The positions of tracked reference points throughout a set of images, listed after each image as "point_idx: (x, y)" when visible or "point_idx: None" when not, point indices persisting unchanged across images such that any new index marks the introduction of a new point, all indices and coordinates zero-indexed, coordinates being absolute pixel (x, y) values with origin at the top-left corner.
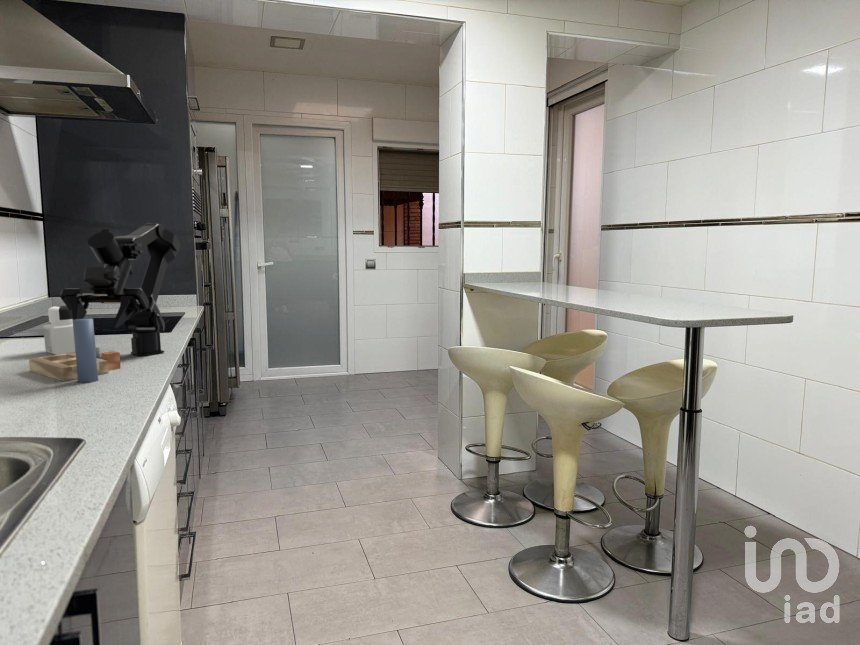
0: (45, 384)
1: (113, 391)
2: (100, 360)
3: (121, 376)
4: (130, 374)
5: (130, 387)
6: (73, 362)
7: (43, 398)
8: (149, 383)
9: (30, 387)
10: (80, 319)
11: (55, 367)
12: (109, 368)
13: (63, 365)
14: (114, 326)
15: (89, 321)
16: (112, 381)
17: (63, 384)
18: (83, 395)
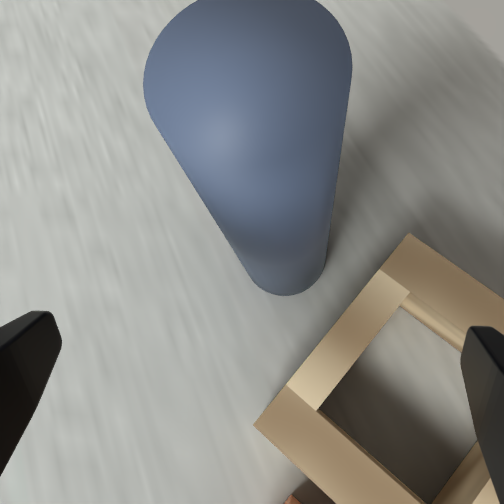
0: (444, 198)
1: (112, 89)
2: (299, 439)
3: (167, 332)
4: (139, 373)
5: (70, 140)
6: (485, 471)
7: None
8: (17, 196)
9: (477, 150)
10: (282, 84)
11: (482, 287)
12: (286, 501)
13: (449, 305)
14: (45, 314)
15: (161, 50)
16: (172, 237)
17: (360, 195)
18: None
